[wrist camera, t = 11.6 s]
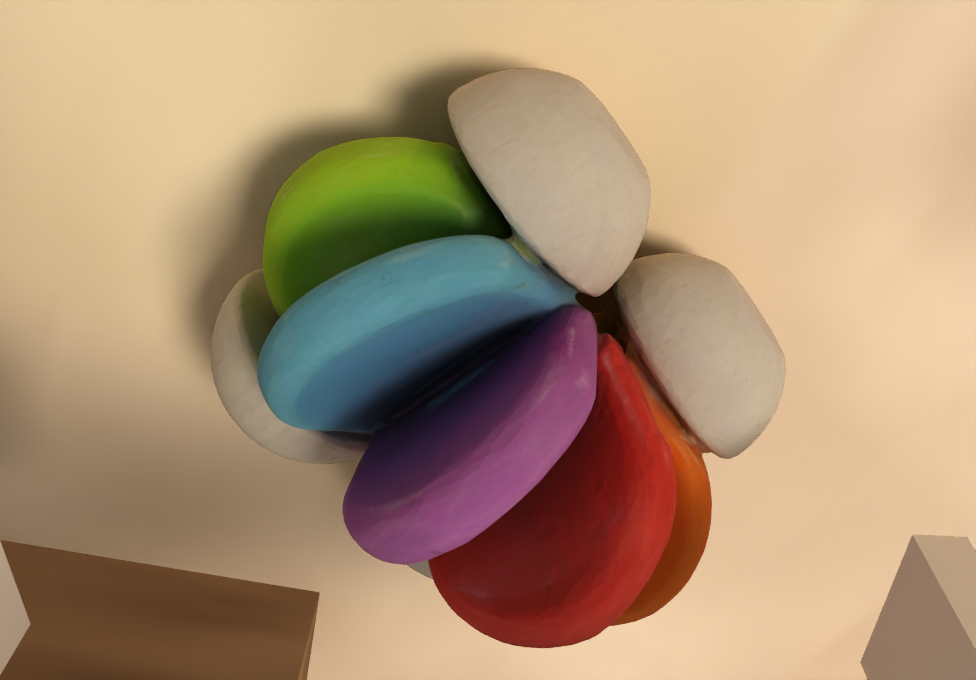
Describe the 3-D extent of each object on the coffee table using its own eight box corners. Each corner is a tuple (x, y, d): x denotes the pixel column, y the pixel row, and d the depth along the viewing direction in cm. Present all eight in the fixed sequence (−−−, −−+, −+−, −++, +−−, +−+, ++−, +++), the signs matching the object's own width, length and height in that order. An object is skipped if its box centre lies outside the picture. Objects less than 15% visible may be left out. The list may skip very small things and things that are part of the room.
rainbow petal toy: (488, 528, 21) (474, 831, 15) (179, 250, 17) (-12, 507, 11) (801, 349, 18) (946, 639, 12) (511, -40, 14) (503, 93, 8)
